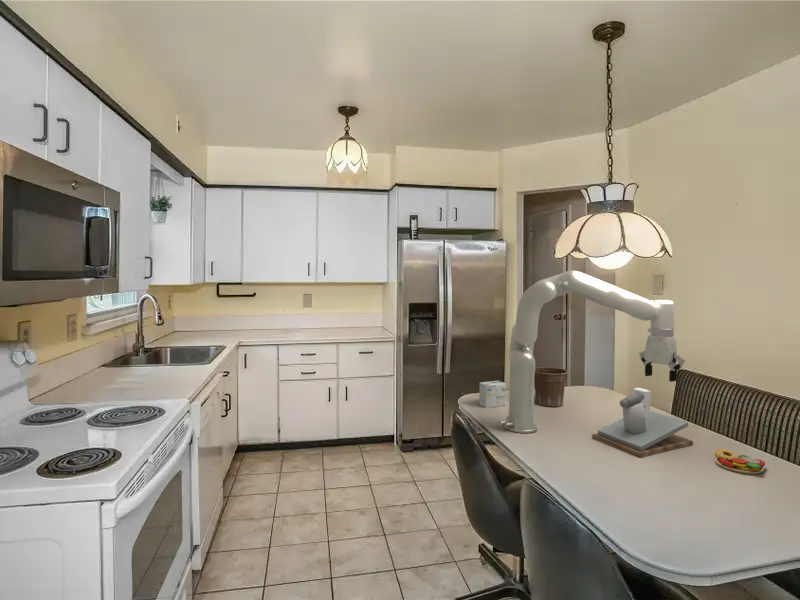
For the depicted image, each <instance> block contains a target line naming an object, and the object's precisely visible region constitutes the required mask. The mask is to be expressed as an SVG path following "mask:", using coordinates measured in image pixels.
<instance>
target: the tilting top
mask: <svg viewBox="0 0 800 600" xmlns="http://www.w3.org/2000/svg"><path fill="white" fill-rule="evenodd" d="M643 399H644V395H643V394H642V393H640V392H638V393H635V394H633V393H632V394H631V395H629V396H627V397H625V398H623V399H620V401H619V406H620V407H621V409H622V417H623V418H621V419H619V420H617V421H615V422H612V423H610V424H608V425H606V426H605V427H604V426H603V427H602V428H599V429H598V430H597V433H598V434H599V435H602V436H604V437H607V438H609V439H612V440H615V441H617V442H620V443H622V444H625V445H627V446H630V447H632V448H635V449H638V450H640V451H642V450H644V449H646V448H648V447H650V446H652V445H654V444H656V443H658V442H659V441H661V440H663V439H665V438H667V437H669V436H671V435H673V434H674V435H675V434H676V433H678V432H681V431H682V430H684V429H685V428H687V427H689V422H688V421H685V420H681V419H678V418H675V417H671V416H668V415H664V414H661V413H658V412H655V411H651V410H650V411H648V410H645V409H644V405H643V402H641V401H642V400H643Z"/></svg>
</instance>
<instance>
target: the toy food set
mask: <svg viewBox="0 0 800 600" xmlns="http://www.w3.org/2000/svg"><path fill="white" fill-rule="evenodd" d="M714 462H715V463H716V464H717V465H718V466H719V467H721V468H723V469H724V470H728V471H730V472H734V473H738V474H743V475H759V474H761V473H763V472H764V471H765V465H766V462H765V461H764V460H761V459H759V458H751V456H749V455H745V454H740V455H738V454H736V453H735V452H733V451H732V450H729V449H726V448H725V449H723V448H718V449H715V451H714Z"/></svg>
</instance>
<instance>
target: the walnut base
mask: <svg viewBox="0 0 800 600" xmlns="http://www.w3.org/2000/svg"><path fill="white" fill-rule="evenodd" d="M591 436H592V438H591V439H593V440H595V441H598V442H600V441H601V443H603V444H606V445H607V446H610V447H613V448H615V449H618V450H620V451H623V452H625V453H628V454H630V455H632V456H635V457H637V458H645V457H649V456H652V455H656V454H661V453H665V452H669V451H674V450H676V449H681V448H686V447H691V446H693V445H694V440H692V439H690V438H689V439H688V438H686V437H683V436H679V435H676V434H675V433H674V434H673V435H671V436H669V437H667V438H665V439H663V440H661V441H659V442H658V443H656V444H654V445H652V446H650V447H648V448H646V449H644V450H642V451H640V450H638V449H635V448H632V447H630V446H627V445H625V444H622V443H620V442H617V441H615V440H612V439H609V438H607V437H604V436H602V435H599V434H598V432H597V433H593V434H592V435H591Z"/></svg>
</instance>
